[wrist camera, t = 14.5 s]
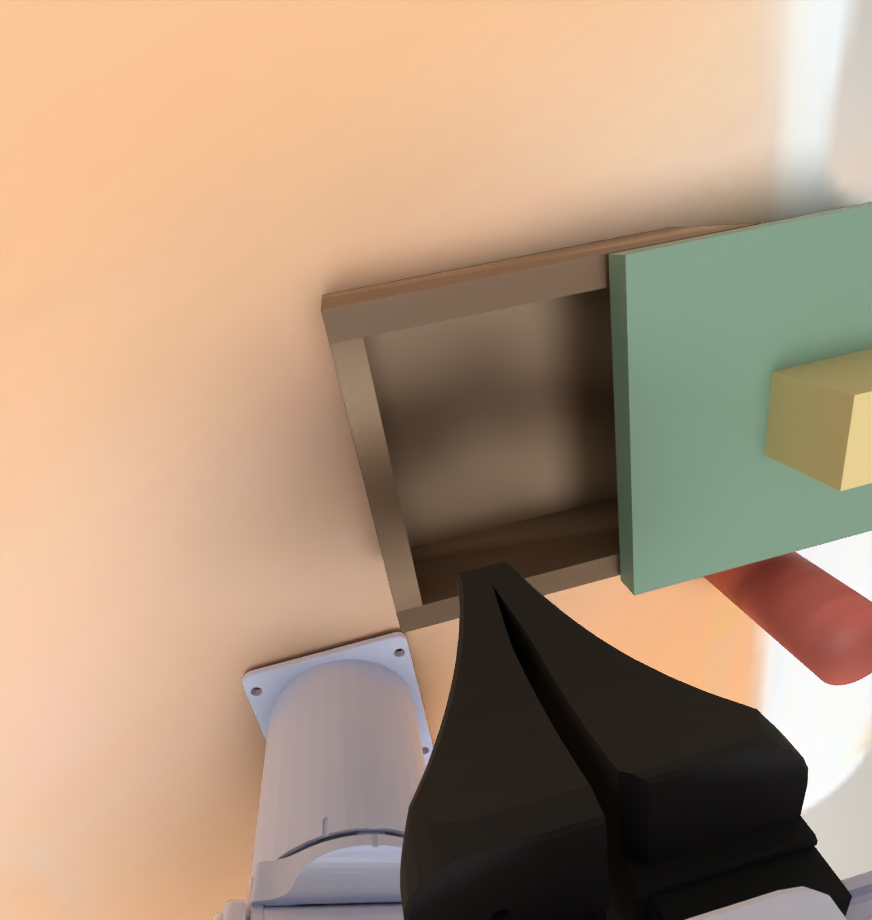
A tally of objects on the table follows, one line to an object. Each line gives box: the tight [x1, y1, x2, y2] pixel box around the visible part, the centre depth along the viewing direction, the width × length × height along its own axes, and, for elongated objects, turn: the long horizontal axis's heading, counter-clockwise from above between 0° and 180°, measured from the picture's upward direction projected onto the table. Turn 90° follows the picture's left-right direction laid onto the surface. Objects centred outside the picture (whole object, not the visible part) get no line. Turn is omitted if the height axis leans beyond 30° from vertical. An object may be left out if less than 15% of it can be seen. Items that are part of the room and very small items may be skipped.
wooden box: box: [321, 223, 761, 633], centre depth 21 cm, size 12×14×5 cm
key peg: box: [704, 552, 872, 685], centre depth 24 cm, size 4×4×8 cm
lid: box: [609, 202, 872, 595], centre depth 17 cm, size 12×14×4 cm
